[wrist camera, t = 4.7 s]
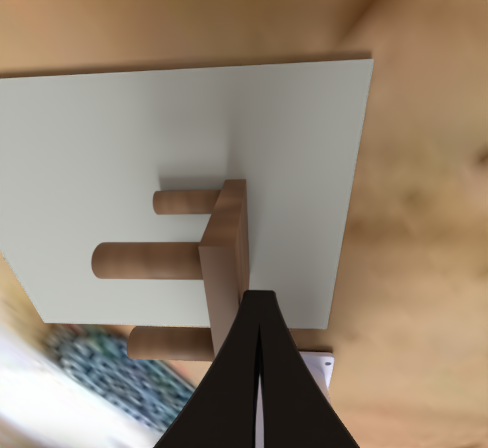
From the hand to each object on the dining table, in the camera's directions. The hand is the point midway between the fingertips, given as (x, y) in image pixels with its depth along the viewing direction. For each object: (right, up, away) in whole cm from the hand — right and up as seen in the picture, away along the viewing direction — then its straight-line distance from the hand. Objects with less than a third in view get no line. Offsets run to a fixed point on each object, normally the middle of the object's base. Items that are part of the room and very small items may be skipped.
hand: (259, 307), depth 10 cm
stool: (-3, +3, +6) cm, 7 cm away
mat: (-6, +3, +6) cm, 9 cm away
